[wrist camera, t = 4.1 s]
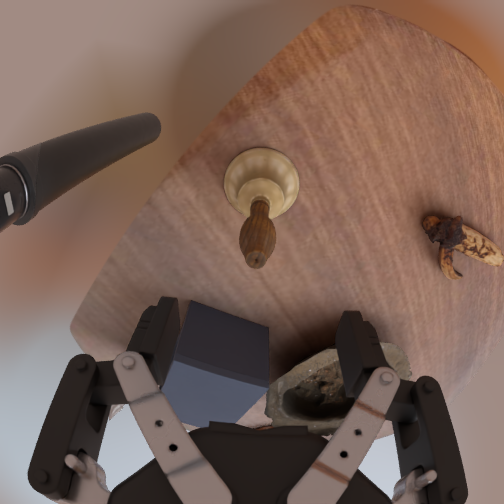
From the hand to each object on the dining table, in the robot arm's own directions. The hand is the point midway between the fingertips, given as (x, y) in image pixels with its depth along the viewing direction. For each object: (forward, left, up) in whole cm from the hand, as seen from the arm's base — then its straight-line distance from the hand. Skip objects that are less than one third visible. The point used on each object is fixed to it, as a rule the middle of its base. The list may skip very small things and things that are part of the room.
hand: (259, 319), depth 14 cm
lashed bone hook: (+29, +5, -21) cm, 36 cm away
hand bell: (0, 0, -21) cm, 21 cm away
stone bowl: (+25, -23, -21) cm, 40 cm away
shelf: (+4, -27, -21) cm, 34 cm away
